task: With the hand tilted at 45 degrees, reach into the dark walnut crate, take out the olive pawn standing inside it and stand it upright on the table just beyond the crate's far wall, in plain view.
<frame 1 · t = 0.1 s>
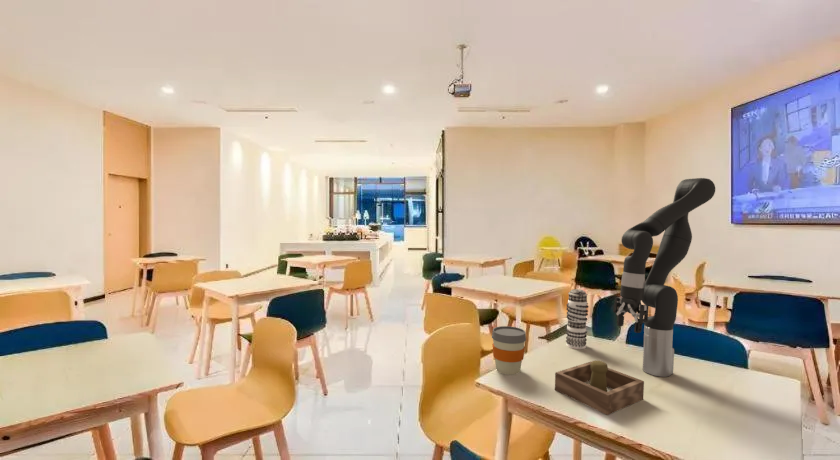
hand: (628, 329, 147), 17 cm above the table, tool pointing down, fingers open, 8 cm apart
walnut crate: (598, 394, 133), on the table
decorative candle: (576, 346, 180), on the table
reusable coffee cup: (508, 370, 152), on the table
olive pawn: (598, 395, 133), resting in walnut crate
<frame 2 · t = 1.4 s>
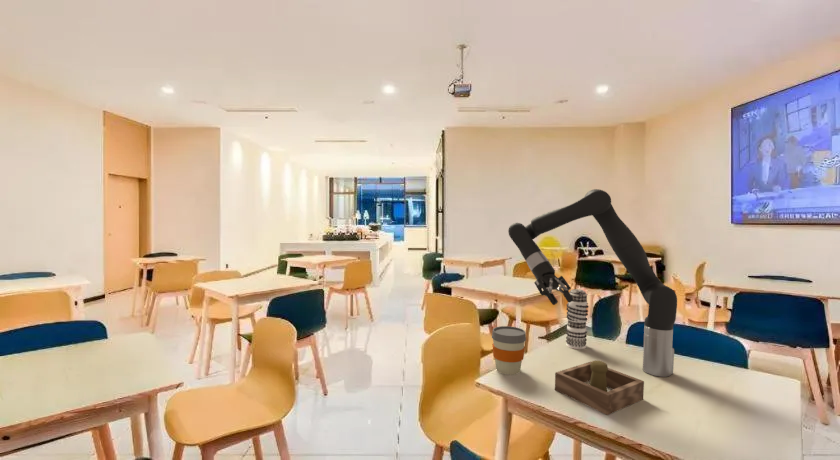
hand: (563, 302, 145), 27 cm above the table, tool tilted 45°, fingers open, 8 cm apart
nothing on the table moved.
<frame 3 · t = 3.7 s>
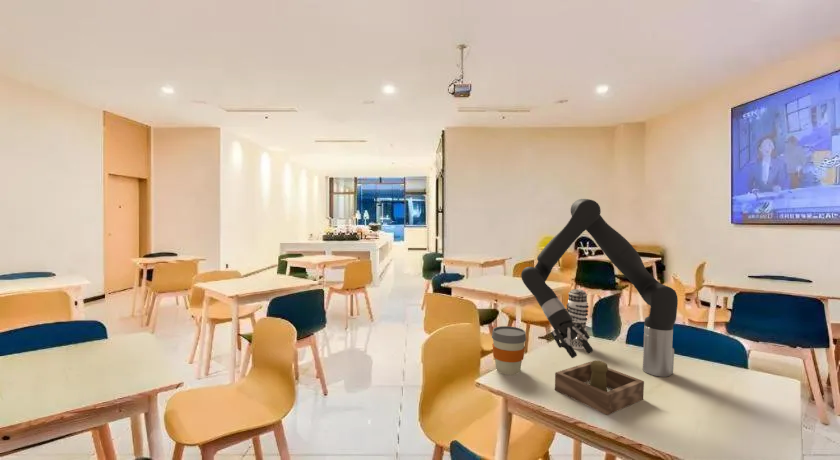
hand: (582, 354, 137), 11 cm above the table, tool tilted 45°, fingers open, 8 cm apart
nothing on the table moved.
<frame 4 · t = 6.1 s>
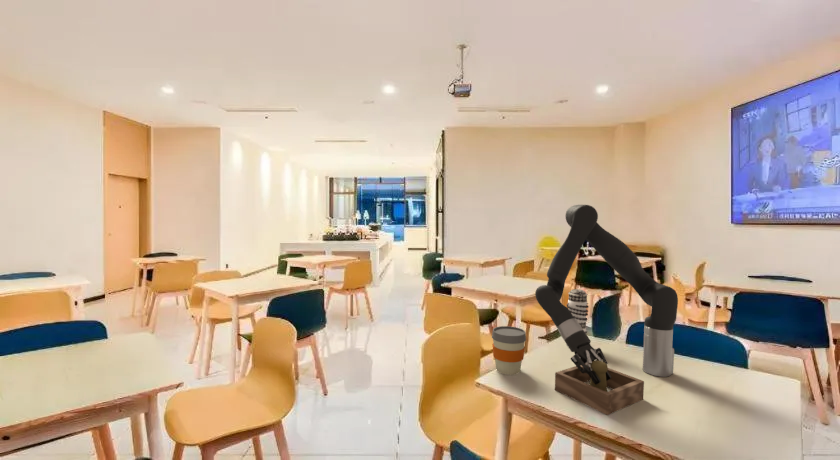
hand: (603, 381, 131), 5 cm above the table, tool tilted 45°, fingers closed on olive pawn, 5 cm apart
olive pawn: (597, 395, 133), resting in walnut crate, touching gripper
everything else where it was.
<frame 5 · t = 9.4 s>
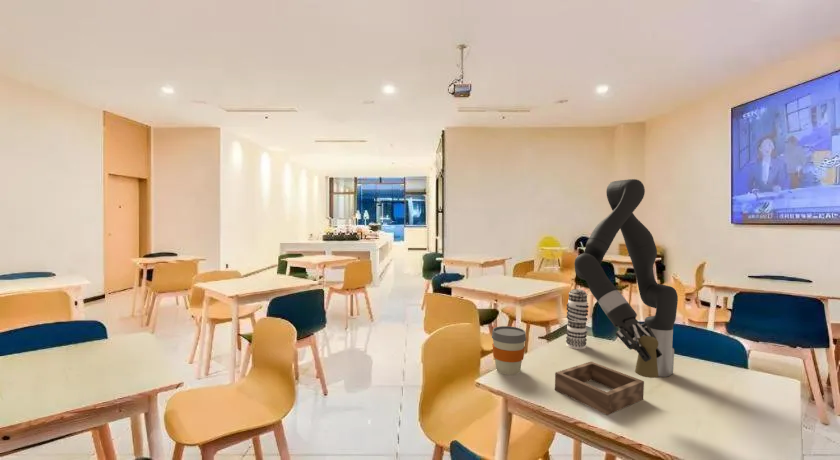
hand: (653, 358, 117), 18 cm above the table, tool tilted 45°, fingers closed on olive pawn, 5 cm apart
olive pawn: (646, 374, 119), point 13 cm above the table, touching gripper
everything else where it was.
when the fingers open (6 cm above the table, at t = 12.7 s): olive pawn drops 1 cm, on the table.
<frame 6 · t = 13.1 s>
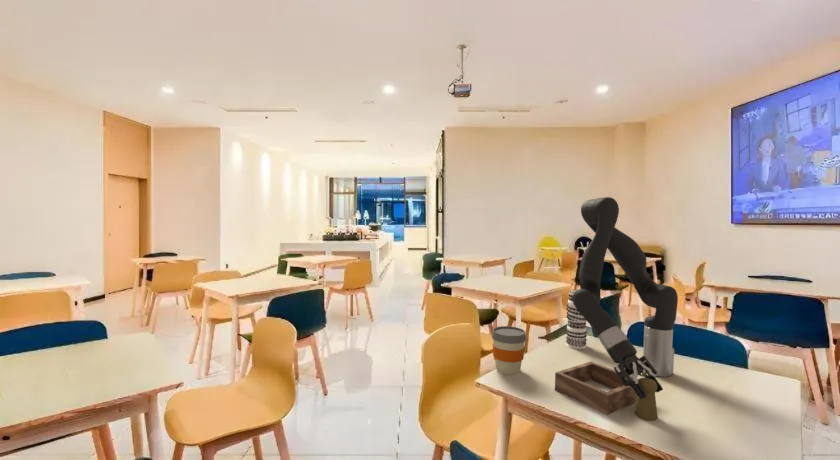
hand: (652, 394, 118), 7 cm above the table, tool tilted 45°, fingers open, 8 cm apart
olive pawn: (645, 416, 120), on the table
everything else where it was.
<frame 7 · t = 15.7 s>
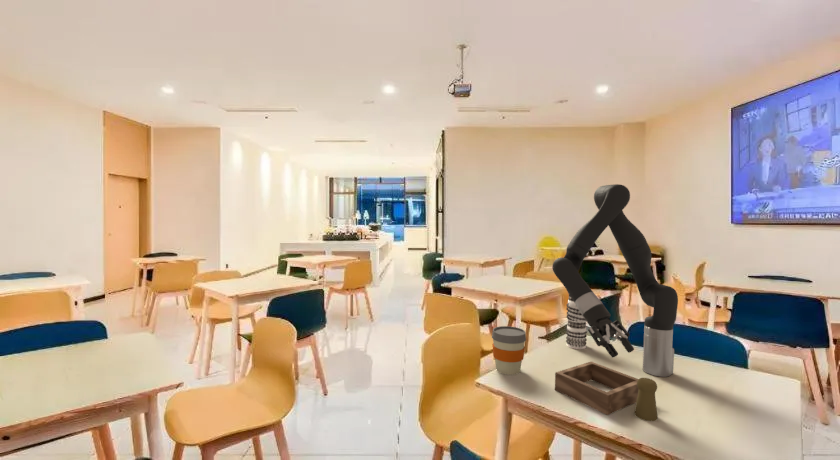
hand: (623, 353, 125), 16 cm above the table, tool tilted 45°, fingers open, 8 cm apart
nothing on the table moved.
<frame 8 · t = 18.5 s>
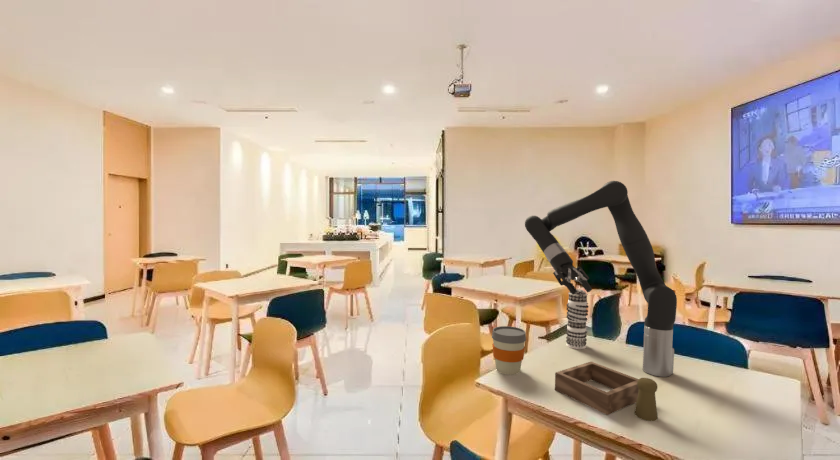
hand: (582, 292, 147), 31 cm above the table, tool tilted 45°, fingers open, 8 cm apart
nothing on the table moved.
at the end: olive pawn inside the target area (0.9 cm from its centre), on the table; olive pawn tilted 0°; the gripper is holding nothing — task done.
